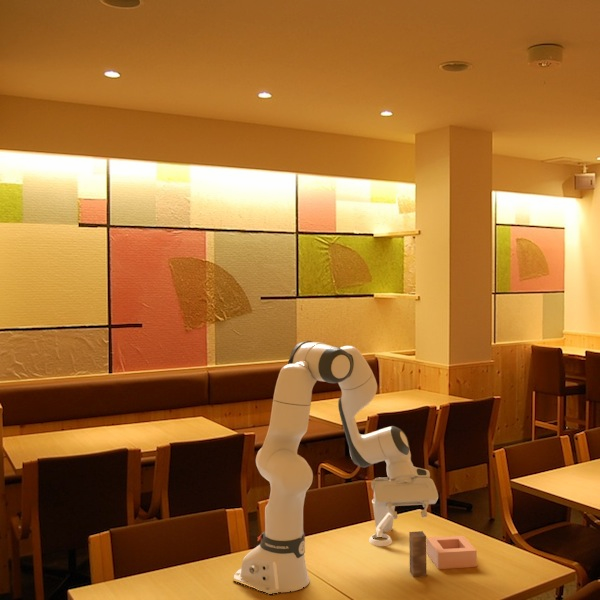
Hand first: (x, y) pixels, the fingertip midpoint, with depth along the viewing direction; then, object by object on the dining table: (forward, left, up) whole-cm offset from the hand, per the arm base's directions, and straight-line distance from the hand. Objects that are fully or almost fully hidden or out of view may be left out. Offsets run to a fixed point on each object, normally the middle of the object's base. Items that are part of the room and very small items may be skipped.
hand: (409, 517), depth 217 cm
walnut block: (+5, -7, -14) cm, 16 cm away
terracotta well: (+11, +7, -14) cm, 19 cm away
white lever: (-14, +11, -14) cm, 23 cm away
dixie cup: (-17, +22, -14) cm, 31 cm away
